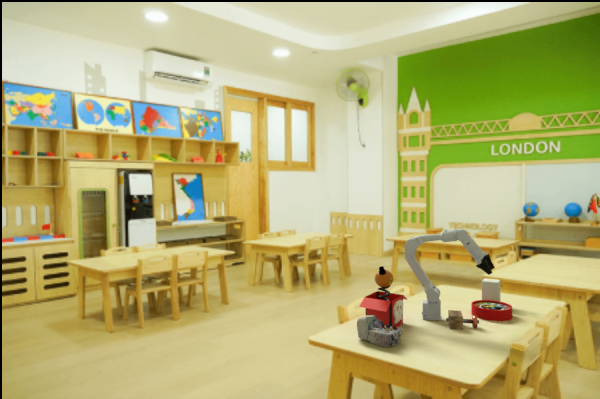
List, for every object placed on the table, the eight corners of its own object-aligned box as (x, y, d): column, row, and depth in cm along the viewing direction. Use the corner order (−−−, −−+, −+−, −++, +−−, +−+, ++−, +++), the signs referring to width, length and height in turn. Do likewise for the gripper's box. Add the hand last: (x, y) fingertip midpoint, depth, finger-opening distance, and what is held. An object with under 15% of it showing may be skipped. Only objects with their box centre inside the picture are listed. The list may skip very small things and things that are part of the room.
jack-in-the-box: (388, 334, 204) (388, 271, 203) (359, 328, 213) (358, 268, 212) (409, 320, 225) (409, 263, 224) (382, 315, 234) (382, 260, 233)
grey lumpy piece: (365, 310, 207) (405, 318, 196) (364, 332, 207) (405, 342, 196) (353, 317, 196) (395, 326, 185) (352, 341, 196) (394, 351, 185)
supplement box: (500, 305, 251) (501, 279, 251) (498, 309, 244) (498, 282, 243) (484, 303, 256) (484, 277, 256) (481, 306, 249) (481, 280, 248)
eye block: (449, 329, 211) (449, 315, 211) (448, 322, 221) (448, 310, 221) (463, 330, 210) (463, 316, 209) (460, 323, 219) (460, 310, 219)
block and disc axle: (446, 327, 214) (446, 315, 213) (445, 323, 219) (445, 312, 219) (479, 329, 210) (479, 317, 209) (478, 325, 215) (478, 314, 215)
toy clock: (468, 299, 244) (506, 300, 240) (468, 309, 244) (506, 311, 240) (475, 309, 224) (517, 311, 220) (475, 320, 225) (517, 322, 220)
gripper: (477, 249, 212) (496, 271, 209) (482, 241, 224) (500, 262, 221) (466, 256, 215) (484, 279, 213) (471, 248, 228) (489, 269, 225)
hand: (491, 271), depth 217 cm, fingers open, 7 cm apart
